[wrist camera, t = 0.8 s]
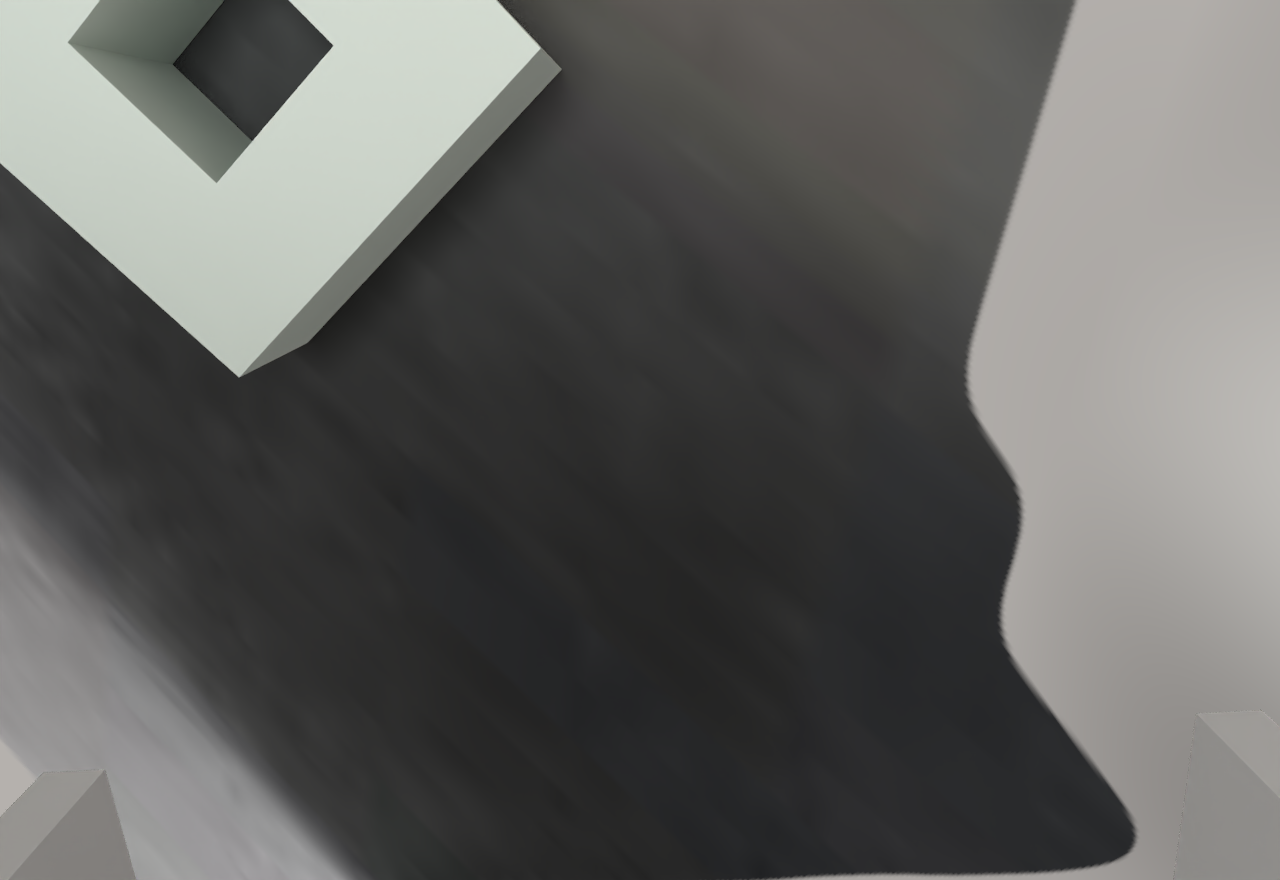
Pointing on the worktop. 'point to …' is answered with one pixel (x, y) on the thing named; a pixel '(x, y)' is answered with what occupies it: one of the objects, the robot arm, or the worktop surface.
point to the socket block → (255, 150)
